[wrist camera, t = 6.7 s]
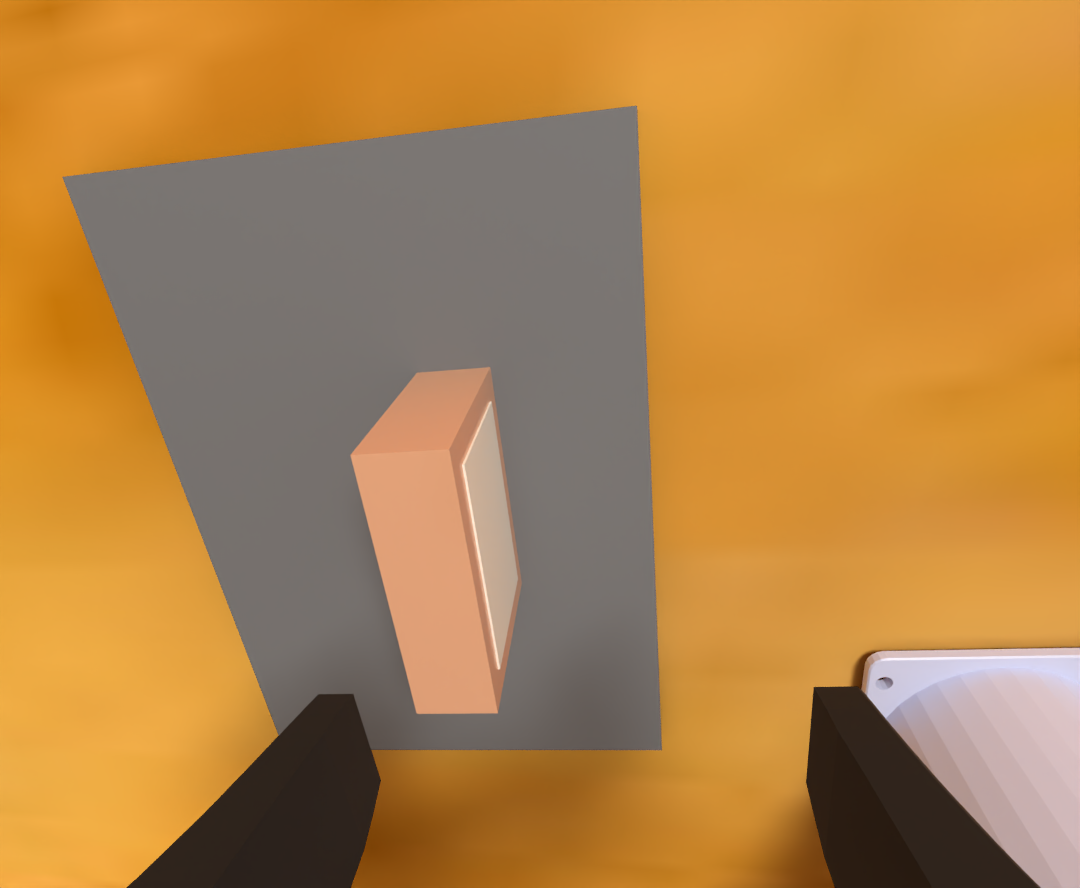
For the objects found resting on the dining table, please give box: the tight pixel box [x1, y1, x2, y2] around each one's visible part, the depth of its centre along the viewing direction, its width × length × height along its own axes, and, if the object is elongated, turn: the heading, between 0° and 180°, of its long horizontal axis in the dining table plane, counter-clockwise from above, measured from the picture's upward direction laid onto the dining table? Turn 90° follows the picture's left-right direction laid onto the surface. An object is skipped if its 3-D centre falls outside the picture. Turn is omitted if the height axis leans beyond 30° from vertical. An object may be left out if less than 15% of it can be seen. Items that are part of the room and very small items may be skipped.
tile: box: [350, 367, 522, 714], centre depth 16 cm, size 7×2×5 cm, turn 6°
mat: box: [63, 106, 662, 750], centre depth 19 cm, size 20×14×1 cm
